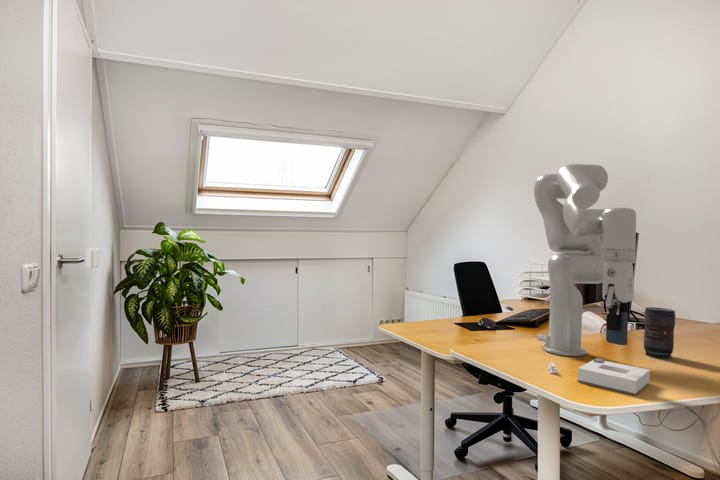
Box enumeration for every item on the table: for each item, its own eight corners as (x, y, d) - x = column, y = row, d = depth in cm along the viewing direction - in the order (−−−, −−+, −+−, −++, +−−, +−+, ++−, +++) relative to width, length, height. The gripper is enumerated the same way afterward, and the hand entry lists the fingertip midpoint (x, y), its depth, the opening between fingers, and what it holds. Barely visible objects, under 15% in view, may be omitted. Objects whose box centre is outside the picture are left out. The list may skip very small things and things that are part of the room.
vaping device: (622, 345, 112) (623, 297, 112) (603, 341, 117) (604, 294, 117) (629, 345, 113) (631, 297, 113) (610, 340, 118) (611, 294, 118)
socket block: (577, 381, 116) (578, 366, 116) (594, 371, 125) (595, 357, 125) (635, 395, 107) (635, 378, 106) (649, 383, 116) (650, 367, 116)
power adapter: (546, 372, 125) (546, 361, 125) (555, 372, 125) (556, 361, 125) (550, 375, 122) (551, 364, 122) (560, 376, 122) (560, 364, 122)
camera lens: (678, 360, 138) (680, 311, 138) (649, 358, 140) (651, 310, 140) (666, 353, 146) (668, 307, 146) (638, 351, 148) (640, 306, 148)
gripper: (625, 257, 107) (623, 335, 107) (643, 257, 118) (641, 327, 118) (590, 256, 112) (589, 330, 112) (611, 256, 124) (610, 323, 124)
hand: (616, 328), depth 115 cm, fingers closed on vaping device, 3 cm apart
